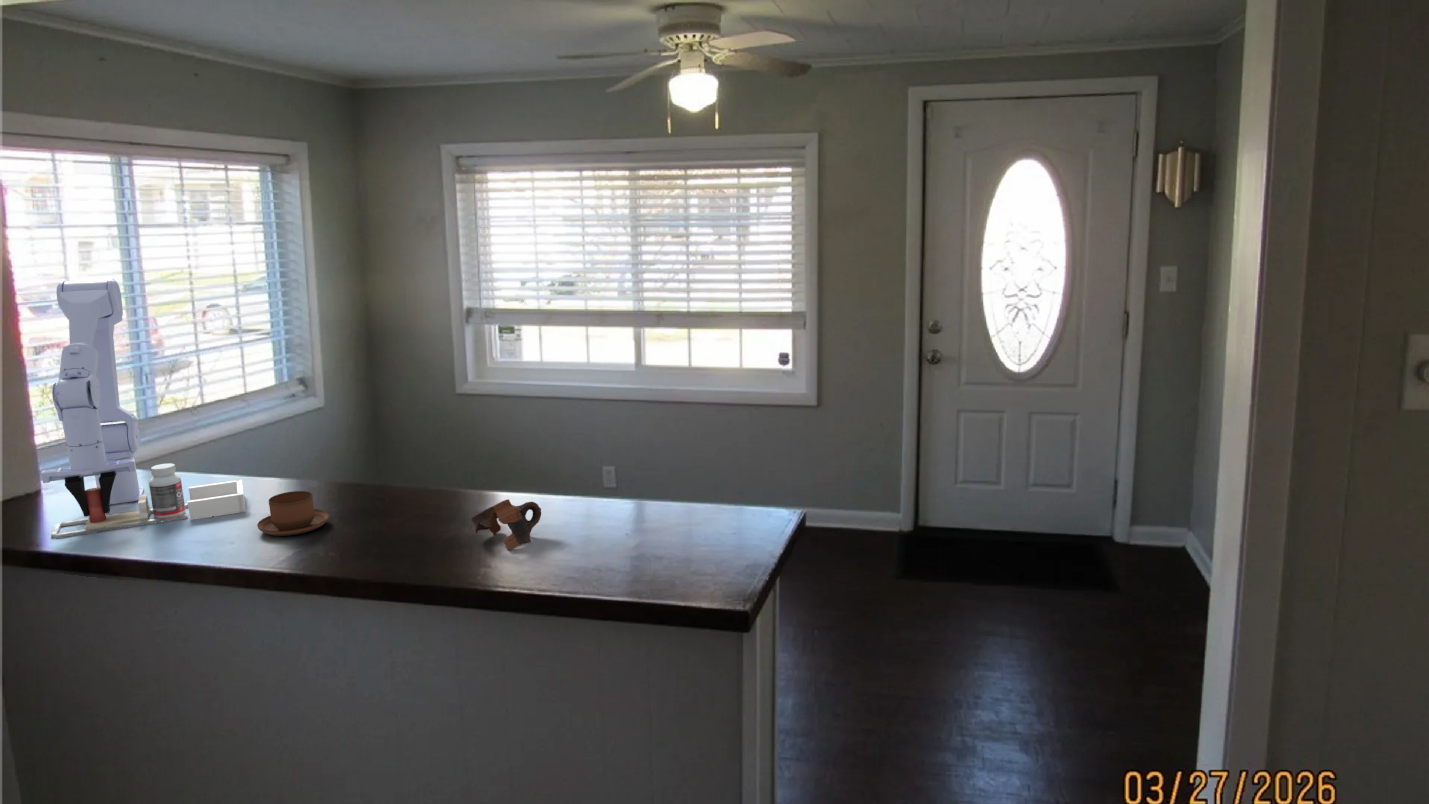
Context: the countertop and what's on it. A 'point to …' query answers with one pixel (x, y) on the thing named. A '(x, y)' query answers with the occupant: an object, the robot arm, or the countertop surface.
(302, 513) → the cup and saucer
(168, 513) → the pill bottle
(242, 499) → the frame
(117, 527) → the track
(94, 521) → the red peg in tray
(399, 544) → the countertop surface
